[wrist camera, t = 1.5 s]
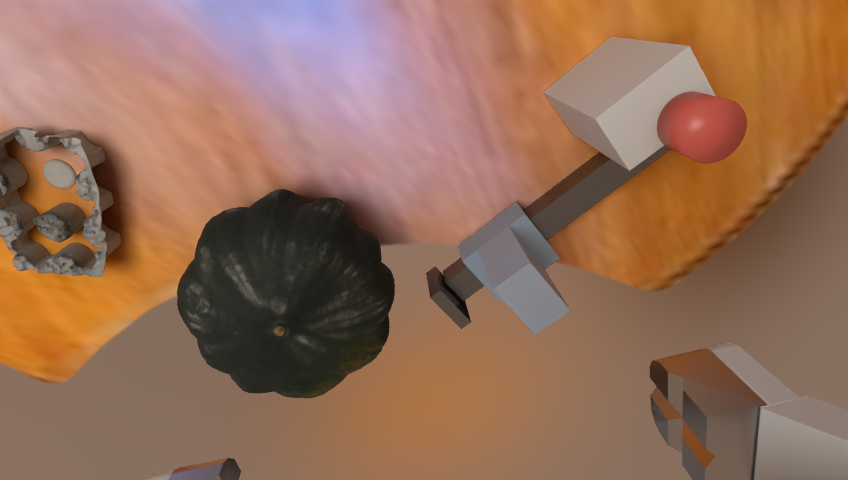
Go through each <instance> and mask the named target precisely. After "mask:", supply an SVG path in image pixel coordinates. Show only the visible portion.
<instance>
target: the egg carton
mask: <svg viewBox="0 0 848 480" xmlns="http://www.w3.org/2000/svg"><path fill="white" fill-rule="evenodd" d="M14 138H15V139H16V140H17V142H18V143H19V144H20V145H21V146H23V147H25V148H27V149H29V150H32V151H44V150H46V149H48V148H51V147H53V146H55V145H58V144H60V143H63V145H64V146H65V148H66V149H67V151H71V152H73V153H74V154H77V155H78V156H80V157H81V158H82V159H83V161H84V162H85V170H83V171H81V172H80V173H79V174H78V175H77V176H76V173H75V171H74V170H73V168H72V167H71V166H70V165H69V164H67V163H66V162H64V161H62V160H58V159H53V160H50V161H48V162H46V163H45V165H44V167H43V174H44V177H45V178H46V180H47V181H48V182H49V183H50V184H51V185H53V186H54V187H57V188H60V189H68V188H70V187H72V186H73V185H74V183H75V181H76V184H77V188H78V190H77V192H76V195H78V196H80V197H82V198H83V199H84V200H94V201H95V204H96V205H95V206H94V207H93V211H94V213H93V214H92V215H91V217H90V218H87V219H86V216H85V214H84V212H83V211H82V210H81V209H80V208H79V207H77V206H76V205H75V204H72V203H61V204H58V205H57V206H55V207H53V208H52V209H50V210H48V211H47V212H45V213H43V214H41V215H39V214H38V212H37V210H36V209H35V208H34V207H33V206H32V205H30V204H29V203H26V202H24V201H22V200H21V197H20V195H19V193H18V191H17V189H18V188H19V187H21V186H23V185H24V184H25V183H26V182H27V180H28V172H27V170H26V169H25V167H24V166H23V164H21V162H19V161H17V160H15V159H14V158H11V157H8V154H7V152H6V148H5V144H6V143H7V142H10V141H12V140H13V139H14ZM104 161H105V155H104V150H103V148H102V147H99V146H95V145H93V144H91V143H90V142H89V141H88V140H87V139H86V138H85V136H84V135H83V133H82V132H80V131H74V130H67V131H64V132H61V133H59V134H56V135H46V136H42V137H40V136H39V134H38V131H33V130H32V128H24V127H17V128H14V129H11V130H8V131H5V132H3V133H0V235H1V237H2V239H3V240H4V241H5V242H6V243H7V247H8V249H9V250H10V251H12V252H13V253H14V254H15V257H14V259H13V264H14V266H15V267H16V268H17V271H24V270H28V269H32V270H38V273H55V274H56V273H57V274H67V275H72V276H78V275H84V274H85V275H88V276H91V277H102V275H103V270H104V266H105V259H106V258H107V257H108V255H109V254H110V253H112V252H113V251H114V250H115V249H116V248H117V247H119V245H120V244H121V238H120V234H119V233H118V232H115V231H112V230H110V229H108V228H107V227H106V226H105V225H104V224H103V223H102V221H101V220H102V217H101V214H102V212H103V211H104V210H106V209H107V208H108V207H110V206H111V205H113V204H114V202H113V196H112V193H111V192H110V191H108V190H105V189H102V188H101V187H99V186H98V185H97V184H96V182H95V179H94V176H93V174H92V168H93V167H94V166H96V165H98V164H100V163H102V162H104ZM95 212H97V213H96V214H95ZM35 226H37V228H38V230H39V231H40V233H41V234H42V235H44V236H45V237H47V238H48V239H51V240H54V241H57V242H62V241H64V240H66V239H68V238H70V237H71V236H72V235H73V234H74V233H76V232H77V231H79V230H80V229H81V228H82V227H83V226H84V230H83V232H82V234H83V236H84V238H85V239H87V240H88V242H91V243H92V246H96V247H98V248H100V250H99V251H98V252H97V253H96V254H94V253H93V252H92V251H91V249H89V248H88V247H87V246H85V245H84V244H81V243H76V242H74V243H70V244H68V245H67V246H65V247H64V248H63V249H62V250H60V251H59V252H58V253H56V254H55V255H50V253H49V252H48V251H47V249H46V248H45V247H44V246H43V245H41V244H39V243H37V242H34V241H32V240H31V239H30V237H29V234H28V231H29V230H30V229H32V228H33V227H35Z"/></svg>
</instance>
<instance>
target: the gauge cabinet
mask: <svg viewBox="0 0 848 480" xmlns="http://www.w3.org/2000/svg"><path fill="white" fill-rule="evenodd" d="M689 91H695V92H700V93H704V94H708V95H712V96H716V95H715V93H714V91H713V89H712V88H711V86H710V84H709V82H708V80H707V78H706V76H705V74H704V72H703V71H702V69H701V67H700V65H699V63H698V61H697V59H696V57H695V56H694V54H693V52H692V50H691V48H690V46H687V45H678V44H670V43H661V42H652V41H644V40H635V39H627V38H618V37H610V38H609V39H608V40H607V41H605V42H604V43H603V44H602V45H600V46H599V47H598V48H597V49H596V50H594V51H593V52H592V53H591V54H589V55H588V56H587V57H586V58H584V59H583V60H582V61H581V62H580V63H578V64H577V65H576V66H575V67H573V68H572V69H571V70H570V71H568V72H567V73H566V74H565V75H564V76H562V77H561V78H560V79H559V80H557V81H556V82H555V83H554V84H552V85H551V86H550V87H549V88H548V89H546V90H545V91H544V92H543V93H544V95H545V96H546V98H547V99H548V101H549V102H550V103H551V105H552V106H553V108H554V109H555V111H556V112H557V114H558V115H559V116H560V118H561V119H562V121H563V122H564V124H565V125H566V127H567V128H568V129H569V131H570V132H571V133H572V134H573V135H575V136H576V137H578V138H579V139H581V140H582V141H584V142H586V143H587V144H589V145H590V146H592V147H593V148H595V149H596V150H598V151H599V152H601V153H603V154H604V155H606V156H607V157H609V158H610V159H612V160H613V161H615V162H616V163H618V164H620V165H621V166H623V167H624V168H626V169H627V170H629V171H630V170H631V169H633V168H634V167H635V166H637V165H638V164H640V163H641V162H642V161H644V160H645V159H646V158H648V157H649V156H650V155H652V154H653V153H654V152H656V151H657V150H658V149H660V148H661V147H663V146H664V145H663V144H662V142H661V141H660V139H659V137H658V134H657V121H658V117H659V115H660V113H661V111H662V109H663V108H664V106H665V105H666V104H667V103H668V102H669V101H670V100H671V99H672V98H674V97H675V96H677V95H679V94H681V93H684V92H689Z"/></svg>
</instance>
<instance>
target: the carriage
mask: <svg viewBox="0 0 848 480" xmlns="http://www.w3.org/2000/svg"><path fill="white" fill-rule="evenodd" d="M458 248H459V251H460V254H461V259H462V262H463V263H464V264H465V265H466V266H467V267H468V268H469V269H470V270H471V271H472V273H473V274H474V275H475V276H476V277H477V278H478V279H479V280H480V281H481V282H482V284H483V285H484V286H485V287H486V288H487V289H488V290H489V291H490V292H491V293H492V294H493V295H494V297H495V298H496V299H497V300H498V301H499V302H500V301H502V300H504V302H505V303H507V305H508V306H509V307H510V308H511V309H512V310H513V311H514V312H515V314H516V315H517V316H518V317H519V318H520V319H521V320H522V321H523V322H524V323H525V325H526V326H527V327H528V328H529V329H530V330H531V331H532V332H533V333H534V335H536V334H537V333H539V332H540V331H542V330H543V329H545V328H546V327H548V326H549V325H551V324H552V323H554V322H555V321H557V320H558V319H559V318H561V317H562V316H564V315H565V314H566V313H568V312H570V309H569V307H568V306H567V304H566V302H565V301H564V299H563V298H562V296H561V295H560V293H559V291H558V290H557V288H556V287H555V285H554V283H553V282H552V280H551V279H550V277H549V275H548V274H547V272H546V271H545V269H546V268H547V267H549V266H550V265H552V264H553V263H554V262H556V261H557V260H559V259H560V257H559V256H558V254H557V253H556V252H555V250H554V249H553V248H552V246H551V245H550V243H549V242H548V241H547V240H546V239H545V238H544V237H543V235H542V234H541V233H540V232H539V230H538V229H537V228H536V227H535V226H534V224H533V223H532V222H531V221H530V219H529V218H528V217H527V215H526V214H525V212H524V211H523V210H522V208H521V207H520V206H519V205H518V203H517V202H515V203H514V204H512V205H511V206H510V207H508V208H507V209H506V210H504V211H503V212H502V213H501V214H499V215H498V216H497V217H495V218H494V219H493V220H491V221H490V222H489V223H488V224H486V225H485V226H484V227H482V228H481V229H480V230H478V231H477V232H476V233H474V234H473V235H472V236H471V237H469V238H468V239H467V240H465V241H464V242H463V243H461V244H460V245H459V246H458Z"/></svg>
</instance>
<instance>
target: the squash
mask: <svg viewBox="0 0 848 480" xmlns="http://www.w3.org/2000/svg"><path fill="white" fill-rule="evenodd" d="M394 287H395V285H394V278H393V275H392V273H391V271H390V269H389V268H388V267H387V266H386V265H385V264H383V263H382V262H381V248H380V244H379V242H378V240H377V238H376V237H375V236H374V235H373V234H372V233H370V232H368V231H366V230H363V229H360V228H358V227H357V224H356V221H355V219H354V217H353V215H352V214H351V212H350V211H349V209H348V208H347V206H346V205H345V204H344V203H343V202H342V201H341V200H339V199H336V198H321V199H317V200H314V201H312V202H310V203H308V202H307V201H306V200H304V199H303V198H302V197H300V196H299V195H297V194H295V193H293V192H291V191H288V190H285V189H280V190H276V191H273V192H271V193H269V194H268V195H266V196H265V197H263V198H261V199H260V200H258V201H257V202H255V203H254V204H253V205H252V206H251V207H249V208H248V207H238V208H233V209H229V210H225V211H223V212H221V213H220V214H218V215H216V216H214V217H212V218H211V219H210V220H209V222H208V223H207V224H206V225H205V227H204V229H203V231H202V234H201V237H200V238H199V240H198V243H197V247H196V252H195V258H194V260H193V261H192V262H191V263H190V264H189V266H188V268H187V269H186V271H185V273H184V274H183V276H182V277H181V279H180V282H179V285H178V290H177V295H178V300H177V305H178V310H179V313H180V315H181V317H182V319H183V321H184V323H185V324H186V325H187V327H188V328H189V330H190V332H191V333H192V334H193V335H194V336H195V337H196V338H197V342H198V346H199V349H200V352H201V355H202V357H203V358H204V359H205V360H206V362H207V364H208V365H210V366H211V367H213V368H215V369H217V370H219V371H221V372H224V373H227V374H230V376H231V378H232V379H233V381H234V382H235V383H236V384H237V385H238V386H239V387H240V388H241V389H242V390H243V391H245V392H248V393H267V392H273V391H275V392H277V393H279V394H281V395H283V396H286V397H293V398H313V397H317V396H320V395H322V394H324V393H326V392H328V391H329V390H331V389H332V388H334V387H335V386H336V385H337V384H339V383H340V382H341V381H342V380H343V379H344V378H345V377H346V376H347V375H348V374H350V373H352V372H354V371H356V370H358V369H361V368H362V367H364V366H365V365H367V364H368V363H370V362H372V361H373V360H374V359H375V358H376V357H377V355H378V354H379V353H380V352H381V350H382V347H383V346H384V344H385V342H386V340H387V338H388V334H389V317H388V313H389V311H390V309H391V306H392V303H393V300H394V294H395V292H394V291H395V289H394Z"/></svg>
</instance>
